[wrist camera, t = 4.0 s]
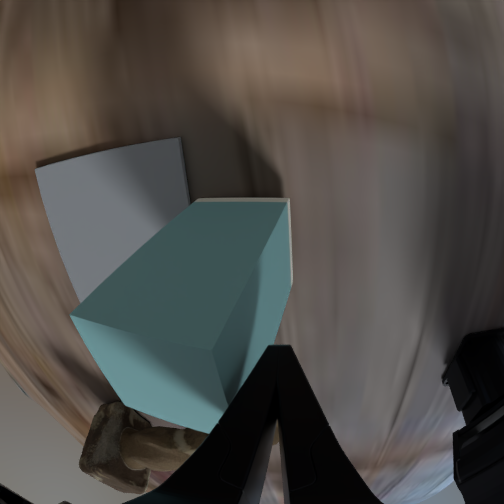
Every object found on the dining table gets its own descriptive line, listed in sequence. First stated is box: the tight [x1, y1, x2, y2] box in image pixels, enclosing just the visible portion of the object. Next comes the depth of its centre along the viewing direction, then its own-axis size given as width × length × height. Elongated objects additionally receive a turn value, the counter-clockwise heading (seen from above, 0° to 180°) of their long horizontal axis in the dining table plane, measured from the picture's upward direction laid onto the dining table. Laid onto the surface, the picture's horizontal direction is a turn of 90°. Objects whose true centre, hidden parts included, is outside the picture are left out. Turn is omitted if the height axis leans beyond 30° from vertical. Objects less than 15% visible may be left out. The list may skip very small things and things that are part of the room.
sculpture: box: [79, 402, 279, 494], centre depth 26 cm, size 8×22×15 cm
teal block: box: [70, 198, 293, 434], centre depth 13 cm, size 5×5×10 cm
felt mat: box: [35, 137, 191, 303], centre depth 18 cm, size 11×12×1 cm
